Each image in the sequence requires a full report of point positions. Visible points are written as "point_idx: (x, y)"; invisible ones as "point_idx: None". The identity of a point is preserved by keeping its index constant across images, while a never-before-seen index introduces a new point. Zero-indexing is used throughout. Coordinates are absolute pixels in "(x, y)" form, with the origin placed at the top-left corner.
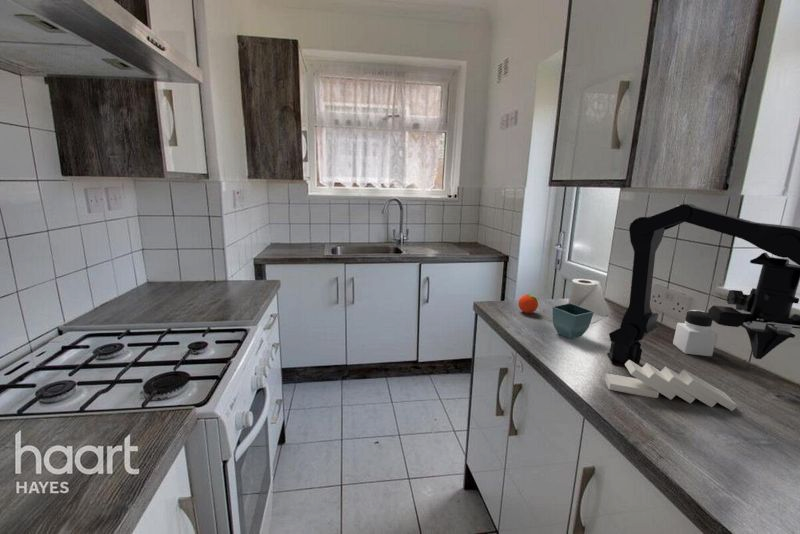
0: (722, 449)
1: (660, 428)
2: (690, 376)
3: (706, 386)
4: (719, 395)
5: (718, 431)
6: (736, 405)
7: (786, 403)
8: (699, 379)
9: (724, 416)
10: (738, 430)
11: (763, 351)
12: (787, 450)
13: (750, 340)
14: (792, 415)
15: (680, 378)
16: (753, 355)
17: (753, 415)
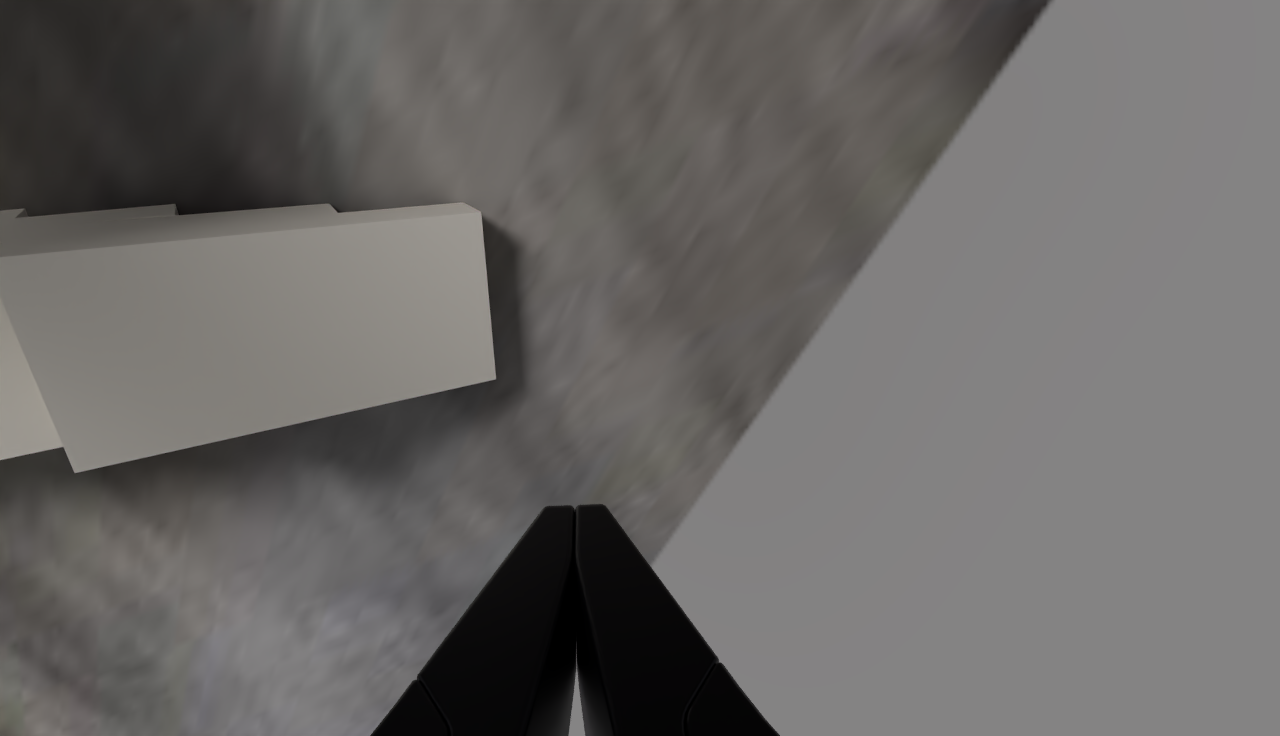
0: (306, 706)
1: (43, 667)
2: (55, 406)
3: (242, 396)
4: (355, 408)
5: (327, 593)
6: (489, 379)
7: (943, 94)
8: (198, 287)
9: (406, 442)
10: (433, 550)
11: (585, 728)
12: None
13: (403, 716)
14: (852, 274)
15: (4, 380)
16: (539, 521)
17: (593, 366)
